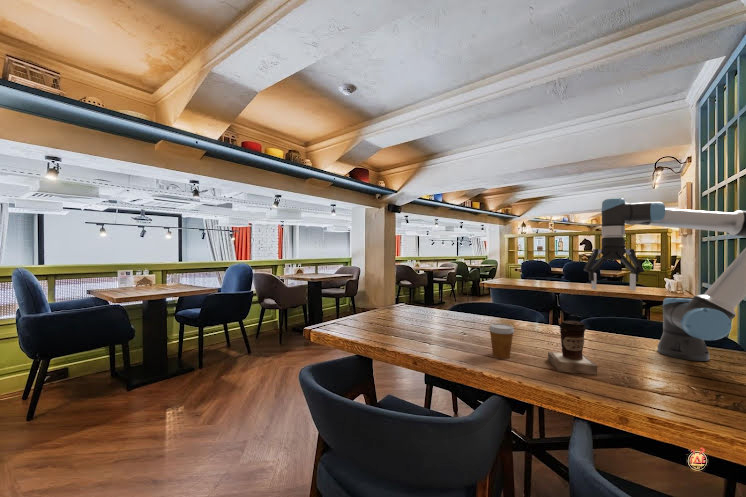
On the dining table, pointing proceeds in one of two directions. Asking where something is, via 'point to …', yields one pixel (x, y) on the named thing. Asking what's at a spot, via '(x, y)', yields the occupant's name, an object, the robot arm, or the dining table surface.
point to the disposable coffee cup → (501, 340)
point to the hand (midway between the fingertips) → (613, 289)
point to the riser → (572, 364)
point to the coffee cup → (572, 339)
